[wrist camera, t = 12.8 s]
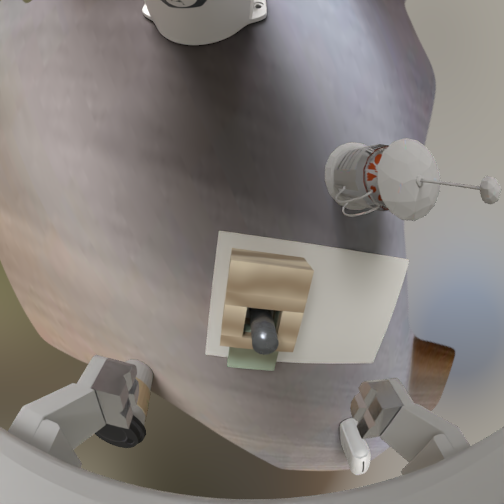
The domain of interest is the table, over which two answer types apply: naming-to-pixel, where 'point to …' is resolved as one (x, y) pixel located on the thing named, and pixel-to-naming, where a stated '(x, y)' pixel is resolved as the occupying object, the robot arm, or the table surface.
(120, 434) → the coffee cup
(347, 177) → the french press
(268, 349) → the pin
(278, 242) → the mat
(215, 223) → the table surface
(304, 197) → the table surface
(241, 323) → the clevis
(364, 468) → the white rounded slab
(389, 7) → the table surface
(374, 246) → the table surface
